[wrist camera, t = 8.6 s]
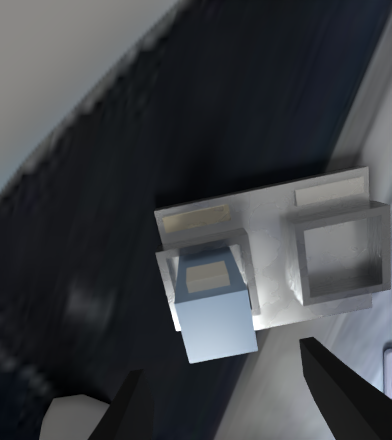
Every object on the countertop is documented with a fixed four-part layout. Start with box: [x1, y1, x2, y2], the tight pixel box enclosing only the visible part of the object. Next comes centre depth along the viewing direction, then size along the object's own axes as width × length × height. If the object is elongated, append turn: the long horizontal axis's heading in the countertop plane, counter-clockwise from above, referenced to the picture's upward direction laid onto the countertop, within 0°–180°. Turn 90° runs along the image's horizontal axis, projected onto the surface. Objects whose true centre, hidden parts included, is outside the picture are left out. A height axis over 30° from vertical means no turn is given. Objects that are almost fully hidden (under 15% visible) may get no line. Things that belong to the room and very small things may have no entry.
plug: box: [174, 246, 258, 363], centre depth 17 cm, size 4×5×6 cm
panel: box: [154, 166, 391, 331], centre depth 20 cm, size 17×12×3 cm
